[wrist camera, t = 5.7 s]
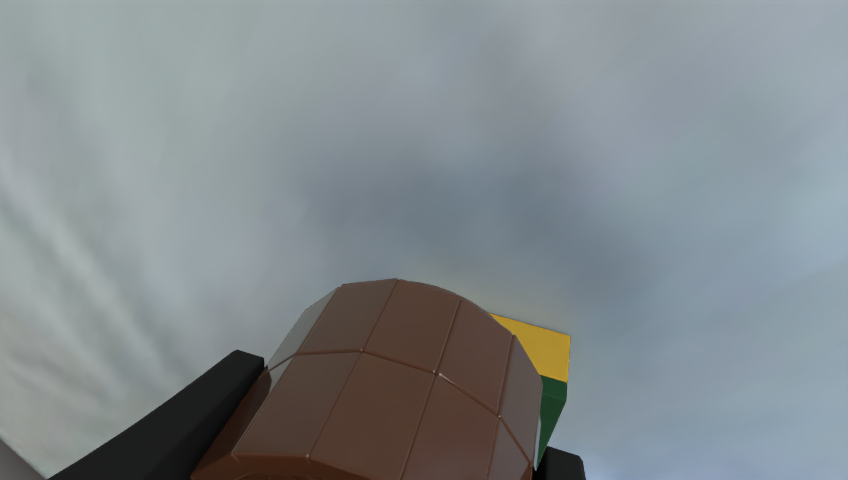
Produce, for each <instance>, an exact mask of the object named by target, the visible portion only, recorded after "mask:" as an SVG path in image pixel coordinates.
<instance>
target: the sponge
mask: <svg viewBox="0 0 848 480" xmlns="http://www.w3.org/2000/svg"><path fill="white" fill-rule="evenodd" d="M487 313H488V312H487ZM489 314H490V315H491V316H492V317H493V318H494V319H495V320H496V321H498V322H499V323H500V324H501V325H502V326H504V327H505V328H507V329H508V330H509V331H511V333H512V334H514V335H516V336H517V338H518V340H519V341H520V343H521V345H522V346H523V348H524V350H525V351H526V353H527V355H528V357H529V358H530V360H531V362H532V363H533V365H534V367H535V368H536V370H537V372H538V373H539V375H540V377H541V379H542V383H543V392H542V417H541V429H540V439H539V448H538V457H537V466H538V464H539V462H540V460H541V457H542V455H543V453H544V450H545V448H546V446H547V444H548V441H549V439H550V437H551V434H552V432H553V430H554V428H555V425H556V423H557V421H558V418H559V416H560V414H561V412H562V409H563V407H564V405H565V402H566V398H567V382H568V369H569V354H570V339H571V338H570V336H569V335H565V334H562V333H558V332H555V331H551V330H548V329H544V328H541V327H537V326H534V325H530V324H527V323H523V322H520V321H516V320H512V319H509V318H505V317H502V316H498V315H495V314H491V313H489ZM537 466H536V469H537Z"/></svg>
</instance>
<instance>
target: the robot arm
mask: <svg viewBox="0 0 848 480" xmlns="http://www.w3.org/2000/svg"><path fill="white" fill-rule="evenodd" d="M263 370H264V358H262V357H259V356H256V355H253V354H250V353H246V352H243V351H240V350H235V351H233V352H232V353H230V354H229V355H228V356H226V357H225V358H224V359H222V360H221V361H220V362H218V363H217V364H216V365H215V366H213V367H212V368H211V369H209V370H208V371H207V372H205V373H204V374H203V375H201V376H200V377H199V378H197V379H196V380H195V381H193V382H192V383H191V384H189V385H188V386H187V387H185V388H184V389H183V390H181V391H180V392H179V393H177V394H176V395H175V396H173V397H172V398H170V399H169V400H168V401H166V402H165V403H163V404H162V405H161V406H159V407H158V408H156V409H155V410H153V411H152V412H151V413H149V414H148V415H146V416H145V417H144V418H142V419H141V420H139V421H138V422H137V423H135V424H134V425H132V426H131V427H129V428H128V429H126V430H125V431H123V432H122V433H120V434H119V435H117V436H116V437H114V438H113V439H111V440H109V441H108V442H106V443H105V444H103V445H102V446H100V447H99V448H97V449H96V450H94V451H93V452H91V453H89V454H88V455H86V456H85V457H83V458H82V459H80V460H78V461H77V462H75V463H74V464H72V465H70V466H69V467H67V468H65V469H64V470H62V471H60V472H59V473H57V474H55V475H54V476H52V477H50V478H49V479H47V480H190V475H191V474H192V472H193V471H194V469H195V468H196V466H197V465H198V464H199V462H200V461H201V459H202V458H203V456H204V455H205V453H206V452H207V450H208V449H209V448H210V446H211V445H212V443H213V442H214V440H215V439H216V437H217V436H218V435H219V433H220V432H221V430H222V429H223V427H224V426H225V424H226V423H227V422H228V420H229V419H230V417H231V416H232V414H233V413H234V411H235V410H236V408H237V407H238V406H239V404H240V403H241V401H242V400H243V398H244V397H245V395H246V394H247V393H248V391H249V390H250V388H251V387H252V385H253V384H254V383H255V381H256V380H257V379H258V377H259V376H260V374H261V373H262V371H263ZM535 480H586V478H585V472H584V466H583V461H582V460H581V458H580V457H579V456H578V455H574V454H571V453H568V452H565V451H561V450H558V449H555V448H552V447H549V446H547V447H546V449H545V451H544V453H543V456H542V458H541V460H540V463H539V465H538V467H537V470H536V473H535Z"/></svg>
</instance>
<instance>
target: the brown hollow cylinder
mask: <svg viewBox="0 0 848 480" xmlns="http://www.w3.org/2000/svg"><path fill="white" fill-rule="evenodd" d="M542 392H543V383H542V379H541V377H540V375H539V373H538V372H537V370H536V368H535V367H534V365H533V363H532V362H531V360H530V358H529V357H528V355H527V353H526V351H525V350H524V348H523V346H522V345H521V343H520V341H519V340H518V338H517V336H516V335H514V334H512V333H511V331H509V330H508V329H507V328H505V327H504V326H502V325H501V324H500V323H499V322H498V321H496V320H495V319H494V318H493V317H492V316H491V315H490V314H489V313H487V312H486V311H485V310H483V309H482V308H480V307H479V306H478V305H476V304H474V303H473V302H471V301H469V300H468V299H466V298H464V297H462V296H460V295H458V294H455V293H453V292H451V291H449V290H446V289H443V288H440V287H437V286H434V285H429V284H425V283H420V282H413V281H406V280H403V279H399V280H398V279H397V278H394V279H385V280H376V281H366V282H357V283H348V284H343V285H341V286H340V287H337V288H336V289H334V290H333V291H332V292H330V293H329V294H327V295H326V296H324V297H323V298H322V299H320V300H319V301H317V302H316V303H314V304H313V305H311V306H310V307H309V308H307V309H306V310H305V311H304V312H303V313H302V315H301V316H300V318H299V319H298V320H297V322H296V323H295V325H294V326H293V328H292V329H291V331H290V332H289V333H288V335H287V336H286V338H285V339H284V341H283V342H282V344H281V345H280V347H279V348H278V349H277V351H276V352H275V354H274V355H273V357H272V358H271V360H270V361H269V362H268V364H267V365H266V367H265V368H264V370H263V371H262V373H261V374H260V376H259V377H258V379H257V380H256V381H255V383H254V384H253V385H252V387H251V388H250V390H249V391H248V393H247V394H246V395H245V397H244V398H243V400H242V401H241V403H240V404H239V406H238V407H237V408H236V410H235V411H234V413H233V414H232V416H231V417H230V419H229V420H228V422H227V423H226V424H225V426H224V427H223V429H222V430H221V432H220V433H219V435H218V436H217V437H216V439H215V440H214V442H213V443H212V445H211V446H210V448H209V449H208V450H207V452H206V453H205V455H204V456H203V458H202V459H201V461H200V462H199V464H198V465H197V466H196V468H195V469H194V471H193V472H192V474H191V475H190V480H535V473H536V466H537V457H538V448H539V439H540V429H541V417H542Z"/></svg>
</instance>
